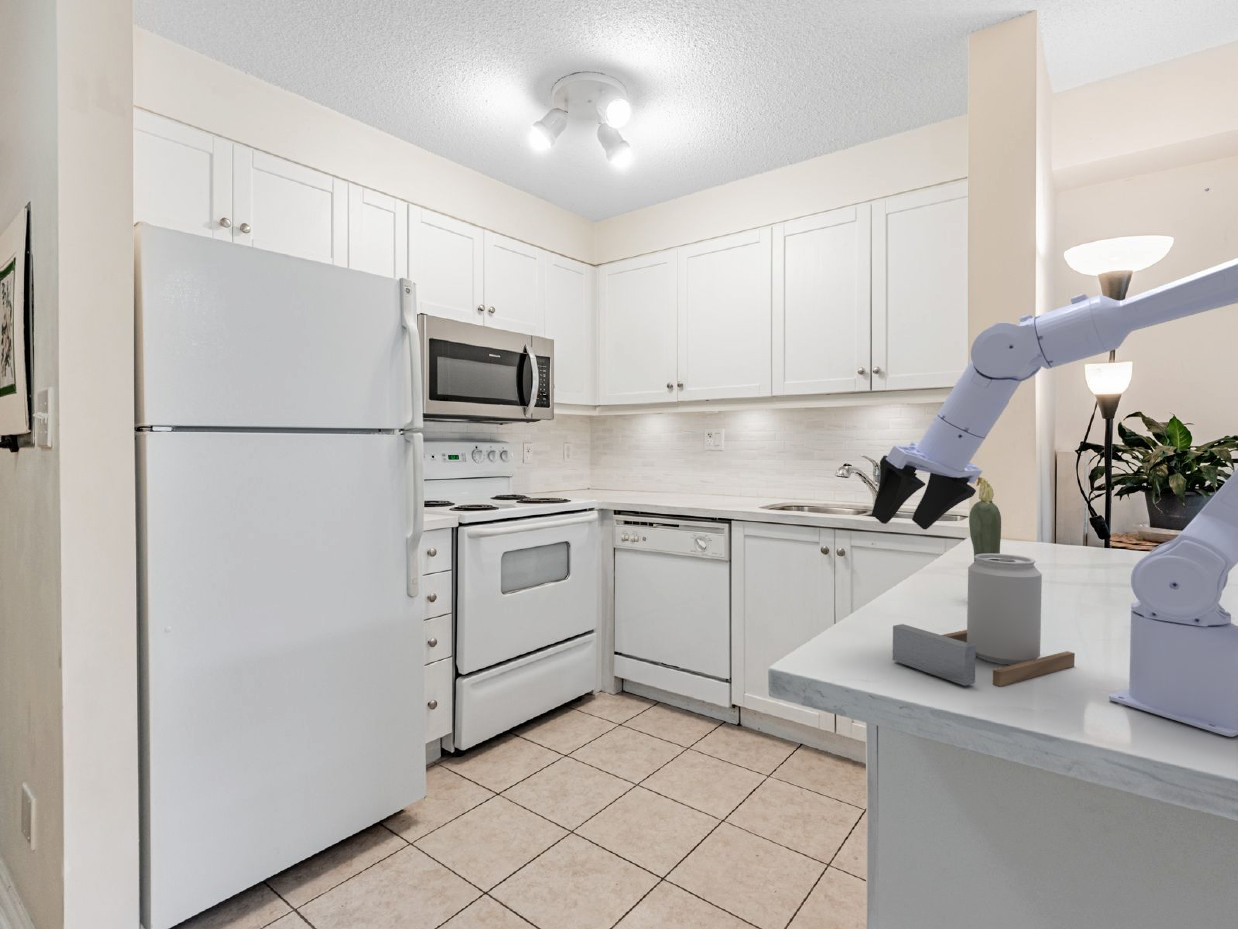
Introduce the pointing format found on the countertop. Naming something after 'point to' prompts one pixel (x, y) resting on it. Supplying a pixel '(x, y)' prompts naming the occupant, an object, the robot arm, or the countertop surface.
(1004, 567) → the can
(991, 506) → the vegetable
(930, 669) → the bar
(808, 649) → the countertop surface
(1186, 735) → the countertop surface
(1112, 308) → the robot arm
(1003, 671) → the pair of wooden slats
